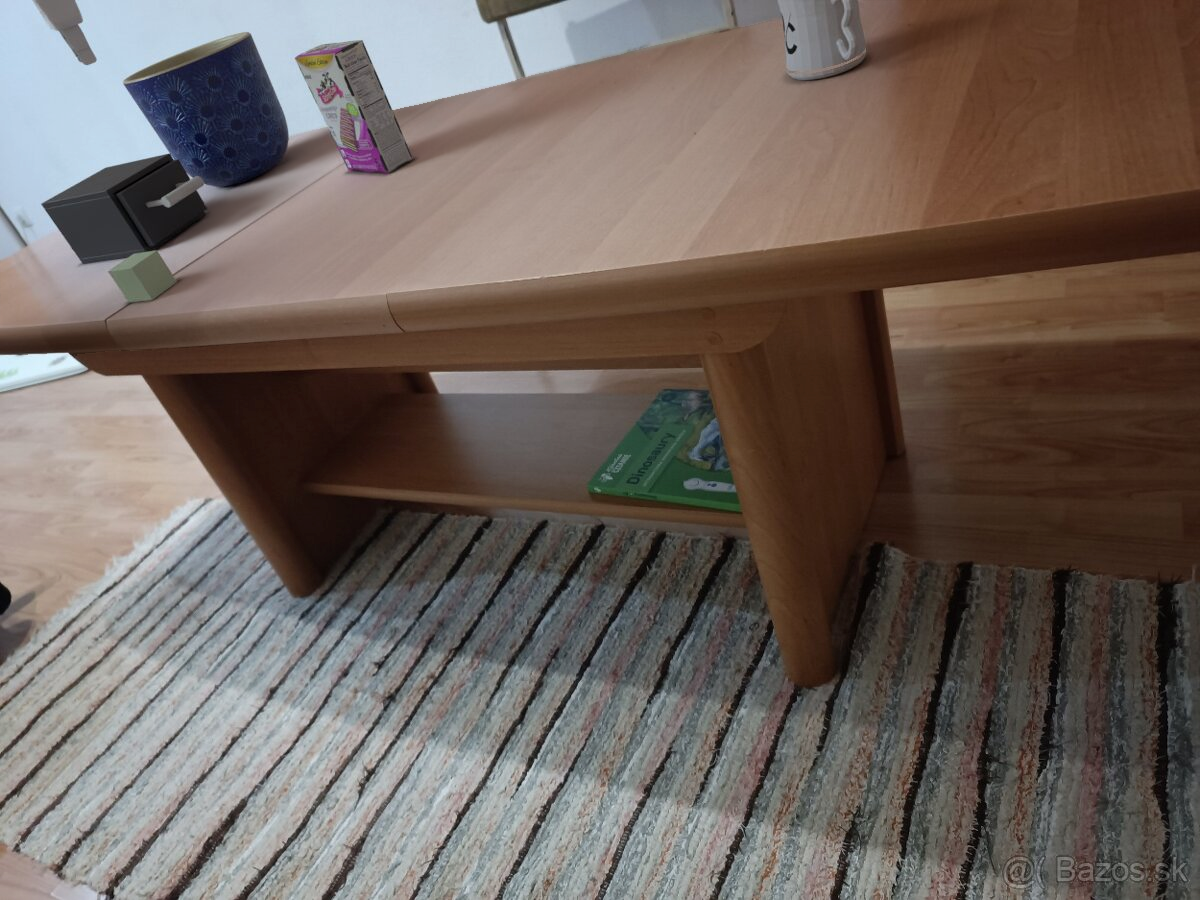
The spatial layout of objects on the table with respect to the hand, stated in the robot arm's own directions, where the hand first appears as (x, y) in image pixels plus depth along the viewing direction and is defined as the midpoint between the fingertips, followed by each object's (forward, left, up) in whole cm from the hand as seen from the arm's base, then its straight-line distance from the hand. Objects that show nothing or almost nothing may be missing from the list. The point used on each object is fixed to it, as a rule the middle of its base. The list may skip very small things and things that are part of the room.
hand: (88, 62), depth 118 cm
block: (-24, -18, -24) cm, 38 cm away
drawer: (-5, -1, -23) cm, 23 cm away
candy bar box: (+9, -32, -24) cm, 41 cm away
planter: (+18, +2, -24) cm, 30 cm away
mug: (+14, -95, -24) cm, 99 cm away
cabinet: (-5, +4, -24) cm, 24 cm away
